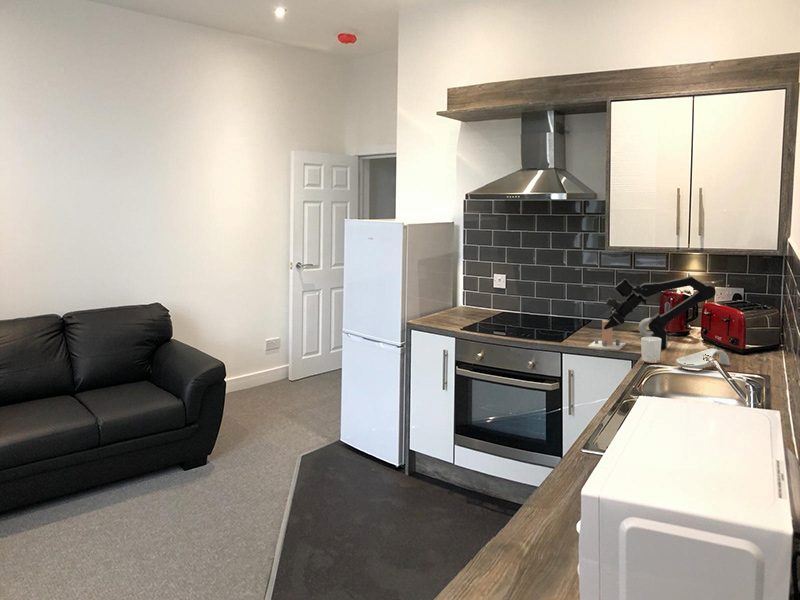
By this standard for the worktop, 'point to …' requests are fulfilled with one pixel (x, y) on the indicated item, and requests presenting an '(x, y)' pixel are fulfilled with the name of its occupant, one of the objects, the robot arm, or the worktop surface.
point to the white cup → (650, 348)
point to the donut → (643, 328)
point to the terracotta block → (606, 333)
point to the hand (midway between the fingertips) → (604, 327)
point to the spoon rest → (698, 359)
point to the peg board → (598, 344)
